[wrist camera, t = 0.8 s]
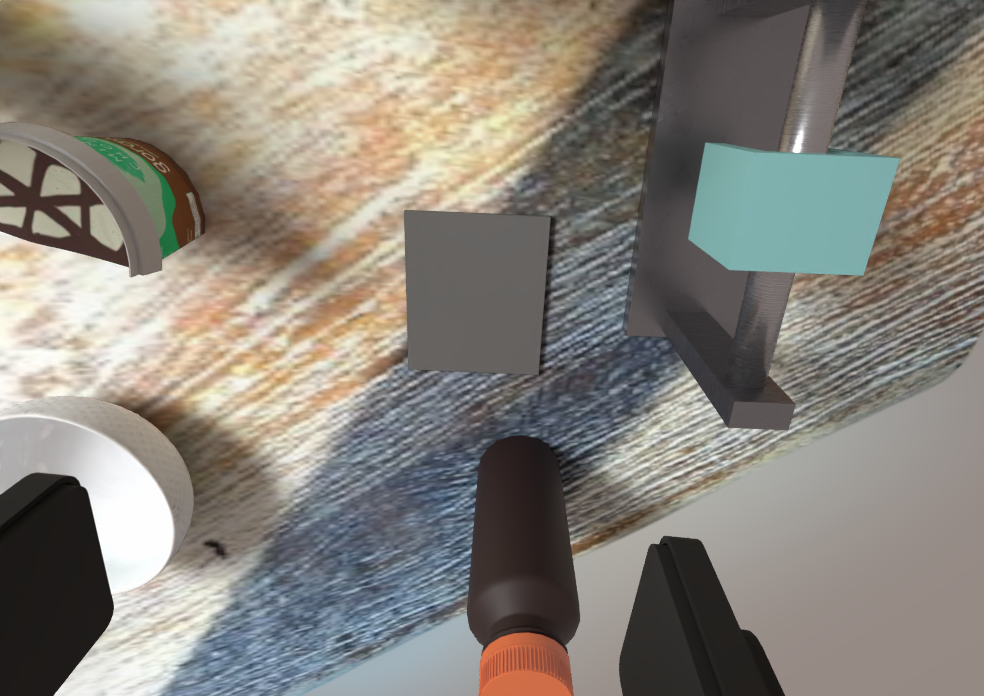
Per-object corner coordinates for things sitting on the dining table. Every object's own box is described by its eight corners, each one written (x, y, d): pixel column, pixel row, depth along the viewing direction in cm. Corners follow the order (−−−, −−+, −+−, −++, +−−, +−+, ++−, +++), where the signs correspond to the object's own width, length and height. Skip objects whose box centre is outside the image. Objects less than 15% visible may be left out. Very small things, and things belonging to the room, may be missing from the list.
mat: (405, 210, 38) (404, 211, 38) (550, 216, 38) (550, 217, 38) (409, 366, 43) (408, 369, 43) (538, 372, 43) (538, 374, 43)
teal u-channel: (705, 142, 29) (754, 152, 23) (822, 147, 29) (900, 158, 23) (688, 238, 31) (729, 270, 25) (797, 243, 31) (863, 275, 25)
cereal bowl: (205, 556, 52) (162, 621, 45) (19, 506, 50) (-53, 566, 43) (232, 406, 45) (186, 457, 39) (19, 342, 43) (-67, 385, 37)
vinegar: (490, 506, 48) (480, 751, 30) (468, 443, 46) (443, 668, 28) (567, 491, 48) (604, 734, 29) (549, 425, 45) (577, 646, 27)
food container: (235, 151, 37) (146, 167, 28) (226, 239, 40) (141, 280, 30) (44, 92, 36) (-114, 88, 27) (46, 186, 38) (-98, 212, 29)
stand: (671, -22, 33) (784, -108, 19) (808, -17, 32) (1016, -100, 19) (622, 327, 41) (676, 433, 28) (730, 332, 41) (835, 440, 28)
